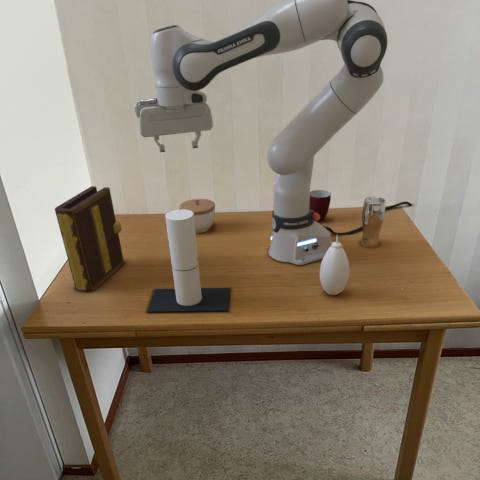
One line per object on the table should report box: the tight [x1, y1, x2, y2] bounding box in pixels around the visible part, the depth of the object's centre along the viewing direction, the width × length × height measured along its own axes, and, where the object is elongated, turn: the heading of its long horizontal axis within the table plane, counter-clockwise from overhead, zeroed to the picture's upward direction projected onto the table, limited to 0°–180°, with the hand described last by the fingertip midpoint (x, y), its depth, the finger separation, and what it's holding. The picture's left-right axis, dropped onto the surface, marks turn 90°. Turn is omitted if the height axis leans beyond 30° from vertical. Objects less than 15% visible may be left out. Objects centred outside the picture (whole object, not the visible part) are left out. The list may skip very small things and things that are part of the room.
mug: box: [309, 189, 332, 223], centre depth 178 cm, size 11×8×10 cm
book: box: [54, 185, 125, 293], centre depth 146 cm, size 22×8×25 cm, turn 162°
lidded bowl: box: [179, 198, 216, 234], centre depth 176 cm, size 13×13×11 cm
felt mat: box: [146, 287, 231, 314], centre depth 138 cm, size 22×12×1 cm, turn 88°
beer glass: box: [360, 196, 386, 248], centre depth 159 cm, size 7×7×15 cm
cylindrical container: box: [164, 208, 202, 306], centre depth 131 cm, size 7×7×25 cm
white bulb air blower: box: [319, 234, 350, 296], centre depth 133 cm, size 8×8×18 cm
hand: (178, 149), depth 138 cm, fingers open, 8 cm apart
